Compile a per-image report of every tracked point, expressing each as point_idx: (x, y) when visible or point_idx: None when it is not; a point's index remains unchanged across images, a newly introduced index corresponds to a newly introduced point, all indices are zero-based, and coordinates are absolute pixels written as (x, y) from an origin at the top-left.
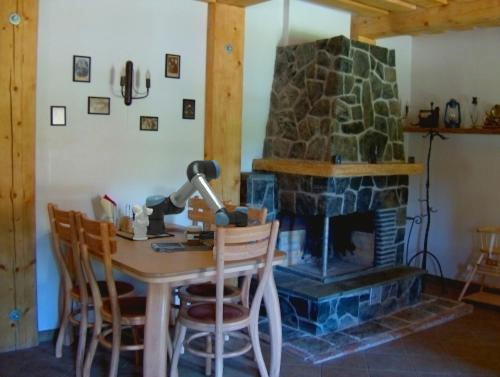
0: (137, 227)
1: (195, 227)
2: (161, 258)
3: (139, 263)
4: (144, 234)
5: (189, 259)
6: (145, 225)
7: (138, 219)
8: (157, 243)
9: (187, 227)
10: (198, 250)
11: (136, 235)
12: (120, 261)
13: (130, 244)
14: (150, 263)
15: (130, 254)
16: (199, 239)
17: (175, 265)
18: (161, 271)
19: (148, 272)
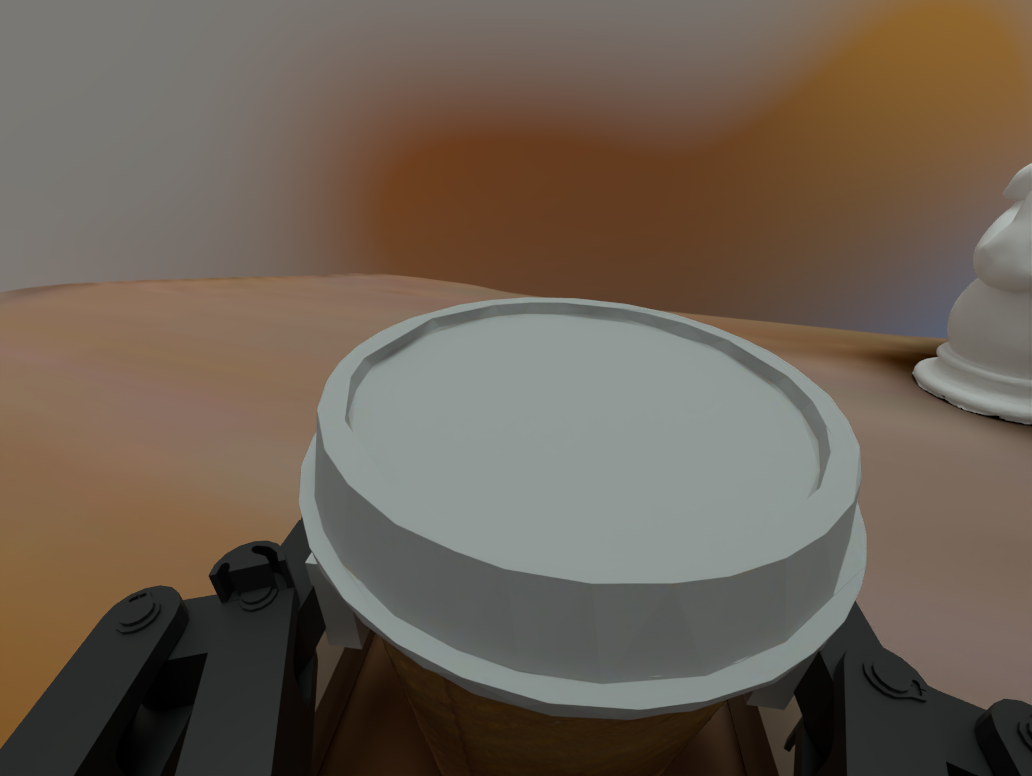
0: (974, 281)
1: (512, 401)
2: (256, 352)
3: (246, 295)
4: (994, 365)
5: (18, 451)
6: (1007, 277)
7: (1016, 209)
8: None
9: (523, 304)
10: None
11: (944, 344)
12: (339, 276)
13: None
14: (202, 311)
15: (452, 304)
16: (413, 710)
17: (14, 357)
18: (13, 307)
19: (69, 287)
